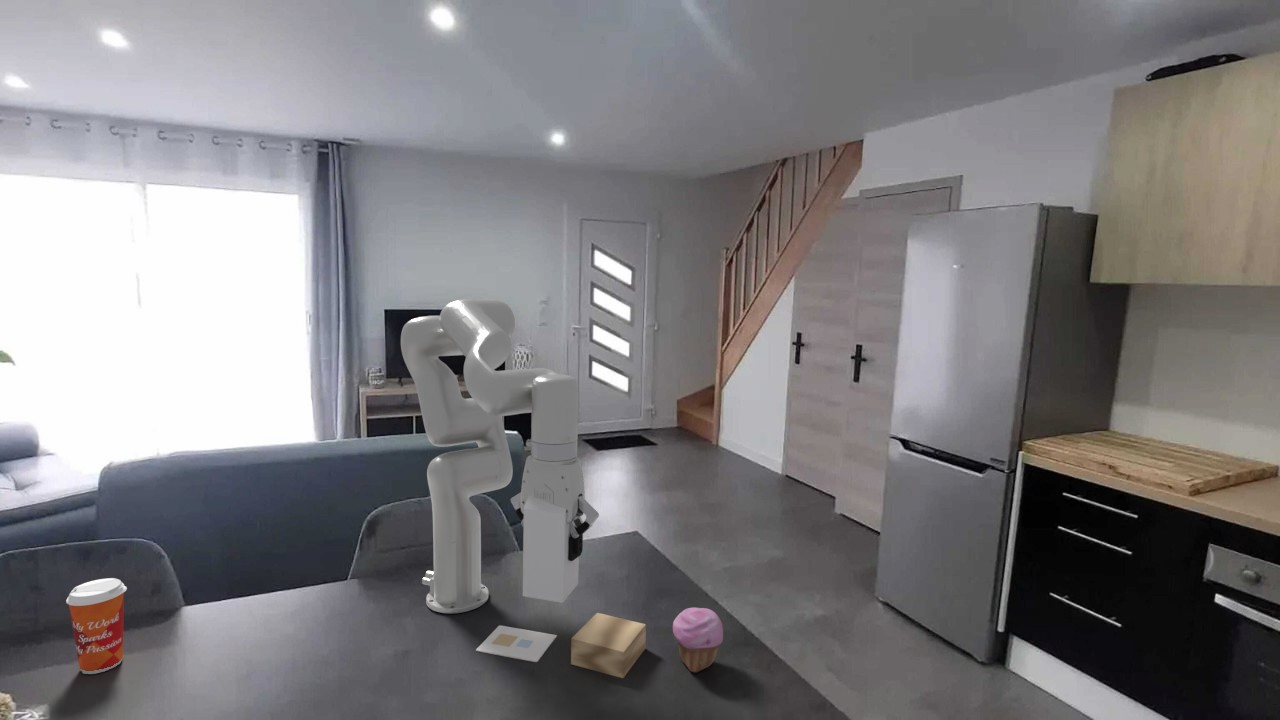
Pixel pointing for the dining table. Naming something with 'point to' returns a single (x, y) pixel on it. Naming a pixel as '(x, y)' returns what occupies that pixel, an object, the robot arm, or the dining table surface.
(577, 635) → the oak brick
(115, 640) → the paper cup
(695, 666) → the cupcake
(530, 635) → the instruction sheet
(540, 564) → the milk carton
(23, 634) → the dining table surface
